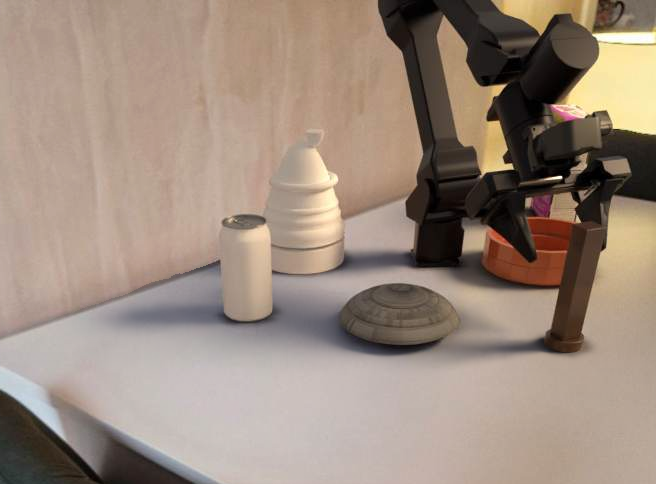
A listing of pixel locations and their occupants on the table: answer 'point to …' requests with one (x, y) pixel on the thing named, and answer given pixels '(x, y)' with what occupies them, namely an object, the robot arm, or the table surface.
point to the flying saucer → (399, 314)
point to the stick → (575, 287)
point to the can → (246, 267)
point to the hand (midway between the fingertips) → (568, 255)
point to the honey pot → (304, 212)
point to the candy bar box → (563, 203)
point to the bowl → (549, 248)
